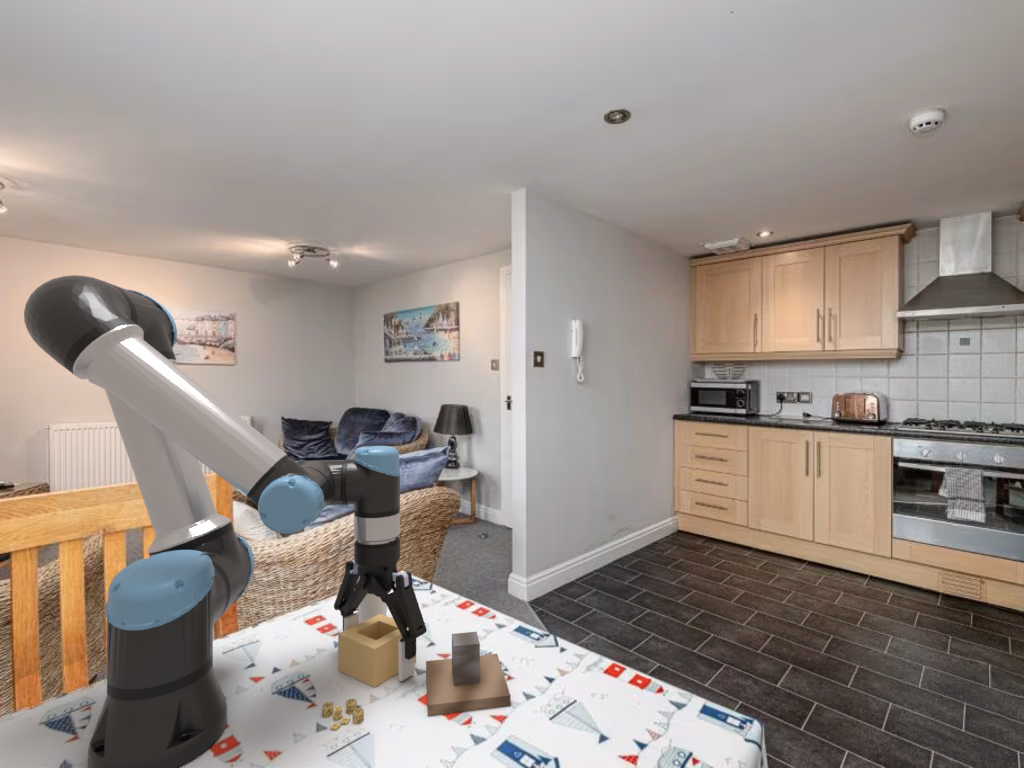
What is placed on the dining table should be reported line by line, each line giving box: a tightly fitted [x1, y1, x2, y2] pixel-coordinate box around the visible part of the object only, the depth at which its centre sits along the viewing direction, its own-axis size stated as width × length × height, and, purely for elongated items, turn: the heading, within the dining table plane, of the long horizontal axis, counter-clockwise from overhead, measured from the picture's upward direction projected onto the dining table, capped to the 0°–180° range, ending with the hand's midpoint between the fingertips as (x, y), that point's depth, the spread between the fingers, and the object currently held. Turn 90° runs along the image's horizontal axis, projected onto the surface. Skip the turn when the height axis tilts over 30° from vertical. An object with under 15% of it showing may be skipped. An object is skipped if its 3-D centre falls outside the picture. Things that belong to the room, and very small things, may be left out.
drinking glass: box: [356, 576, 388, 624], centre depth 99 cm, size 7×7×15 cm
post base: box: [425, 631, 511, 717], centre depth 79 cm, size 12×12×8 cm
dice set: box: [321, 698, 365, 732], centre depth 72 cm, size 5×5×2 cm
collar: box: [337, 614, 417, 688], centre depth 85 cm, size 9×9×6 cm
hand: (377, 664), depth 85 cm, fingers open, 13 cm apart
